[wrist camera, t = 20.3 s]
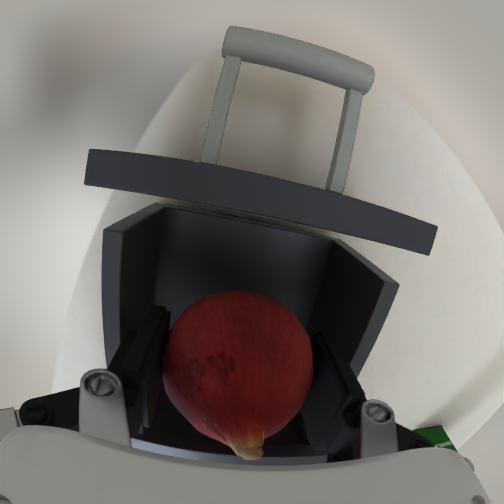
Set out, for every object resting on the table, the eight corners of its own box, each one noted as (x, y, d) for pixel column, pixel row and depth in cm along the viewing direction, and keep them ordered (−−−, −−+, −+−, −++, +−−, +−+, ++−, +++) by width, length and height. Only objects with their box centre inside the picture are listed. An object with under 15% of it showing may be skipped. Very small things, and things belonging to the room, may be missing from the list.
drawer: (175, 60, 13) (138, -5, 6) (379, 110, 14) (459, 89, 7) (135, 351, 18) (102, 427, 11) (301, 377, 20) (324, 453, 13)
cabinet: (131, 327, 18) (82, 421, 10) (311, 356, 20) (347, 453, 11) (138, 435, 23) (121, 505, 14) (265, 453, 24) (274, 523, 15)
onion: (177, 353, 14) (148, 479, 7) (182, 254, 13) (121, 373, 5) (280, 364, 15) (308, 488, 7) (305, 271, 13) (378, 390, 6)
